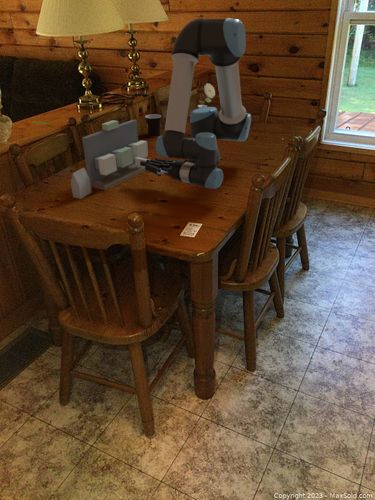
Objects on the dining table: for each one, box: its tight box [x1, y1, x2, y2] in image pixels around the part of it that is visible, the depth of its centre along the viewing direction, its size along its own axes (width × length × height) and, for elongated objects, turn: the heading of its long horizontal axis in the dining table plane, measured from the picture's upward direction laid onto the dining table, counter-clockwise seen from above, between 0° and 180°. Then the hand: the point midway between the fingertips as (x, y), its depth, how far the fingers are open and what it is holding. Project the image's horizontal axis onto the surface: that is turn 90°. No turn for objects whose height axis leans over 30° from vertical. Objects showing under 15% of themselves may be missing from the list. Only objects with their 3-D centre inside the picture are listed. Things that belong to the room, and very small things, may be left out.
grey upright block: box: [70, 167, 92, 200], centre depth 166 cm, size 4×7×10 cm, turn 154°
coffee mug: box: [144, 113, 162, 137], centre depth 233 cm, size 12×9×10 cm
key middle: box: [111, 147, 133, 168], centre depth 180 cm, size 8×6×6 cm
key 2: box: [127, 140, 149, 160], centre depth 186 cm, size 8×6×6 cm
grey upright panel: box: [81, 119, 147, 191], centre depth 180 cm, size 16×30×22 cm, turn 145°
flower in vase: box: [197, 83, 216, 109], centre depth 232 cm, size 13×11×25 cm
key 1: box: [93, 154, 117, 175], centre depth 173 cm, size 8×6×6 cm
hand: (136, 160), depth 175 cm, fingers closed
